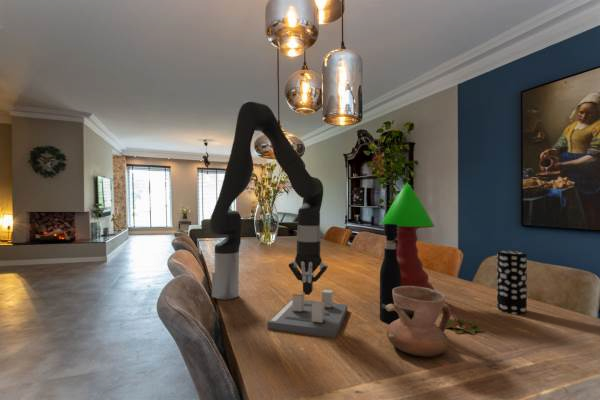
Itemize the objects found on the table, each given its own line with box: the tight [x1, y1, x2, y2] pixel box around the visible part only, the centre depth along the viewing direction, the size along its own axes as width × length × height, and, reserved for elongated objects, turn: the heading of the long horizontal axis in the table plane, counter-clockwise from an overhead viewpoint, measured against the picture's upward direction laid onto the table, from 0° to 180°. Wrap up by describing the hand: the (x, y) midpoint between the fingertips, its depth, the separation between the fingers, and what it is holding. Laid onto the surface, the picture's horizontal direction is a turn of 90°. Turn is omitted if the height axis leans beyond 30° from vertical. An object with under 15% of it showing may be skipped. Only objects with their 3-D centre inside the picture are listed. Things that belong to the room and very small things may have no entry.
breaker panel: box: [266, 298, 348, 339], centre depth 95 cm, size 20×22×2 cm
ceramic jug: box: [385, 286, 452, 358], centre depth 76 cm, size 18×14×14 cm
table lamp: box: [380, 182, 435, 290], centre depth 117 cm, size 20×20×45 cm
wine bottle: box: [379, 224, 401, 325], centre depth 95 cm, size 6×6×30 cm
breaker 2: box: [321, 289, 334, 308], centre depth 100 cm, size 3×3×5 cm
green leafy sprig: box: [438, 311, 485, 336], centre depth 89 cm, size 12×12×5 cm
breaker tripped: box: [291, 291, 305, 312], centre depth 96 cm, size 3×3×5 cm
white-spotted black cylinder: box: [496, 249, 528, 316], centre depth 104 cm, size 8×8×20 cm
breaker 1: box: [312, 300, 325, 323], centre depth 87 cm, size 3×3×5 cm
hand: (307, 293), depth 96 cm, fingers closed
